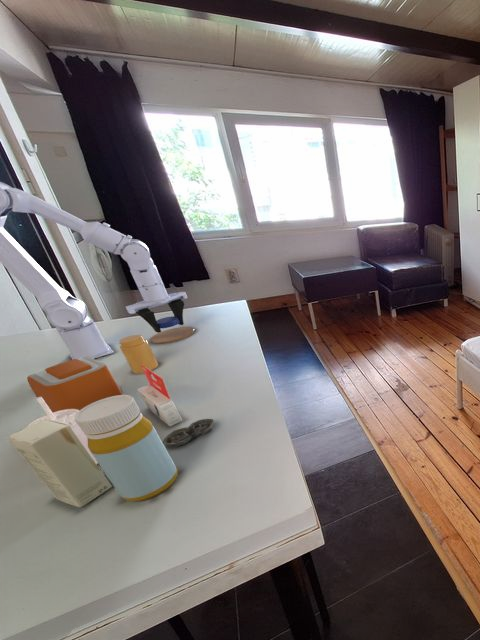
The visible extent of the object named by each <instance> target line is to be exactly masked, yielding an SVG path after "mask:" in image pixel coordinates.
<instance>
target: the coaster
mask: <svg viewBox="0 0 480 640" xmlns="http://www.w3.org/2000/svg"><path fill="white" fill-rule="evenodd" d="M195 331H196V330H195V328H194V327H191V326H180V327H174V328H171V329H170V328H169V329H166V330H164V331H161V332H160V333H158V332H157V333H156V334H154V335H152V336H151V338H150V339H149V340H150V342H151V344H168V343H173V342H177V341H180V340H183V339H187V338H188V337H190V336H192V335H193V334H194V333H195Z"/></svg>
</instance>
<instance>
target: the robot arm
mask: <svg viewBox="0 0 480 640" xmlns="http://www.w3.org/2000/svg"><path fill="white" fill-rule="evenodd" d="M11 212H14V213H26V214H34V215H37V216H39V217H41V218H44V219H46V220H49V221H51V222H54V223H56V224H59V225H60V226H62V227H65V228H68V229H70V230H72V231H74V232H77V233H79V234H80V235H81V238H82V239H83V241H85V242H87V243H89V244H91V245H93V246H96V247H98V248H100V249H103V250H104V251H107V252H109V253H111V254H114V255H120V257H121V258H122V259H123V260H124V261H125V262H126V263H127V265H128V267H129V272H130V274H131V276H132V278H133V280H134V282H135V284H136V287H137V289H138V291H139V293H140V295H141V297H142V299H143V300H141V301H138V302H136V303H132V304H130V305H127V306H125V309H126V311H127V313H128V314H130V315H133V314H137V315H138V316H139V317H141V318H142V319H143V320H144V321H146V323H148V325H150V327H151V328H152V330H154V332H155V333H157V334H158V333H160V332H162V329H161V328H160V327H159V326H158V324H157V322H156V321H157V318H156V316H155V312H154V311H153V310H151V308H155V307H158V306H163V305H166V304H167V305H168V307H169V308H170V310H171V312H172V314H173V316H176V317H178V319H179V321H180V323H179V324H178V325H180V326H183V325H184V324H185V323H184V307H185V301H184V300H186V299H189V297H188V295H187V292H186V291H178V292H174V293H169V294H168V292H167V289H166V287H165V284H164V282H163V280H162V277H161V275H160V273H159V271H158V268H157V266H156V265H155V263H154V260H153V259H152V257H151V252H150V249H149V247H148V246H147V245H146V243H144V242H143V241H141V240H140V239H135V238H133V236H132V235H129V234H127V235H126V234H124V233H121V232H120V231H118V230H115V229H113V228H111V224H108V223H106V222H102V223H101V222H99V221H85V220H83V219H81V218H79V217H77V216H75V215H73V214H71V213H70V212H68V211H65V210H63V209H61V208H59V207H58V206H56V205H54V204H52V203H50V202H48V201H46V200H44V199H42V198H39V197H38V196H36V195H34V194H31V193H29V192H27V191H25V190H22V189H20V188H17V187H12V186H10V185H8V183H7V184H6V183H5V182H2V181H0V264H1V265H2V266H3V267H4V268H5V269H7V271H9V272H10V273H11V274H12V275H13V276H14V278H15V279H16V280H17V281H18V282H20V284H21V285H23V286H24V287H25V288H26V290H28V291H29V292H30V293H31V294H32V295H33V296H34V297H35V299H36V300H37V303H38V305H39V307H40V308H41V309H42V310H43V312H44V313H45V314H46V318H47V321H48V322H49V324H51V325H52V326H53V327H54V328H55V330H56V331H57V333H58V335H59V336H60V338H61V339H62V341H63V343H64V344H65V347H66V348H67V349H68V352H69V356H70V358H71V360H73V359H80V358H83V357H90V358H93V359H96V358H100V357H104V356H107V355H111V354H113V353H114V350H113V349H112V348H111V347H110V346H109V344H108V343H107V342H106V341H105V339H104V337H103V336H102V334H101V332H100V331H99V329H98V326H97V325H96V323H95V321H94V319H92V318H90V317H89V316H88V315H87V314H88V310H89V309H88V306H87V304H86V303H85V302H84V301H82V300H81V299H78V298H76V297H74V296H73V295H72V294H71V293H70V292H69V291H68V290H66V289H64V288H62V287H61V286H60V285H59V284H58V283H57V282H56V281H55V280H54V279H53V278H52V277H51V276H50V275H49V274H48V272H47V271H45V270H44V269H43V267H41V266H40V264H38V263H37V261H36V260H35V259H34V258H33V257H32V256H31V255H30V254H29V253H28V252H27V251H26V250H25V249H24V248H23V247H22V246H21V245H20V244H19V242H17V241H16V239H15V238H14V237H13V236H12V235H11V234H10V233H9V232H8V231H7V230H6V229H5V228H4V226H5V223H6V220H7V218H8V215H9V214H10V213H11Z"/></svg>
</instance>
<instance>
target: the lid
mask: <svg viewBox="0 0 480 640" xmlns="http://www.w3.org/2000/svg"><path fill="white" fill-rule="evenodd" d="M156 322H157V324H158V326H159V327H160V329H168V328H172V327H175V326H177V325H179V323H180V321H179V319H178V317H176V316H174V315H173V316H166V317H162V318H159V319H156Z"/></svg>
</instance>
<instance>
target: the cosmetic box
mask: <svg viewBox="0 0 480 640" xmlns="http://www.w3.org/2000/svg"><path fill="white" fill-rule="evenodd" d="M6 439H7V440H8V441H9V442H10V444H11V445H12V447H14V449H15V450H16V451H17V452H18V453H19V455H20V456H21V457H22V459H23V460H24V461H25V462H26V463H27V465H28V466H29V467H30V468H31V469H32V471H33V472H34V473H35V474H36V476H37V477H38V478H39V479H40V480H41V482H42V483H43V485H44V486H45V487H46V488H47V489H48V490H49V492H50V493H51V494H52V495H53V496H54V497H55V499H56V500H58V501H60V502H62V503H65V504H68V505H71V506H74V507H77V508H83V507H84V506H85V505H87V504H89V503H90V502H92V501H93V500H94V499H96V498H97V497H99V496H100V495H102V494H104V493H105V492H107V491H108V490H109V489H111V488H112V487H113V484H112V483H111V482H110V480H108V479H107V478H108V477H106V476H105V473H103V472H102V470H101V469H100V468H99V467H100V466H98V464H96V463H95V462H94V460H93V459H92V457H91V456H90V455H89V453H88V452H87V450H86V449H85V448H84V446H83V445H82V443H81V442H80V441H79V439H78V438H77V436H76V435H75V433H74V432H73V431H72V429H71V428H70V426H69V425H67V424H64V423H60V422H56V421H51V420H46V419H45V420H43V421H41V422H38V423H36V424H34V425H32V426H30V427H28V428H25V427H24V428H23V429H21V430H19V431H17V432H14V433H12V434H10V435H8V436H7V437H6Z"/></svg>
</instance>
